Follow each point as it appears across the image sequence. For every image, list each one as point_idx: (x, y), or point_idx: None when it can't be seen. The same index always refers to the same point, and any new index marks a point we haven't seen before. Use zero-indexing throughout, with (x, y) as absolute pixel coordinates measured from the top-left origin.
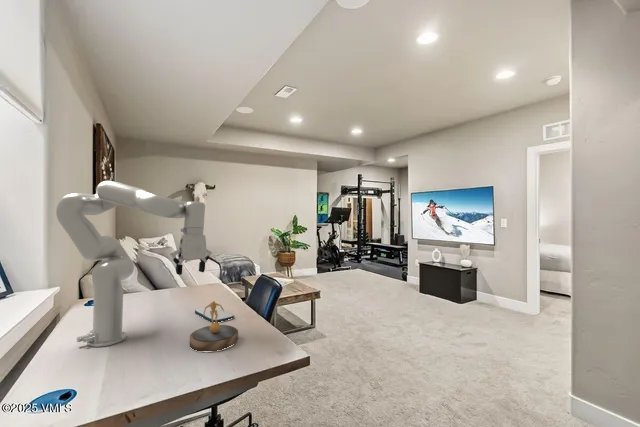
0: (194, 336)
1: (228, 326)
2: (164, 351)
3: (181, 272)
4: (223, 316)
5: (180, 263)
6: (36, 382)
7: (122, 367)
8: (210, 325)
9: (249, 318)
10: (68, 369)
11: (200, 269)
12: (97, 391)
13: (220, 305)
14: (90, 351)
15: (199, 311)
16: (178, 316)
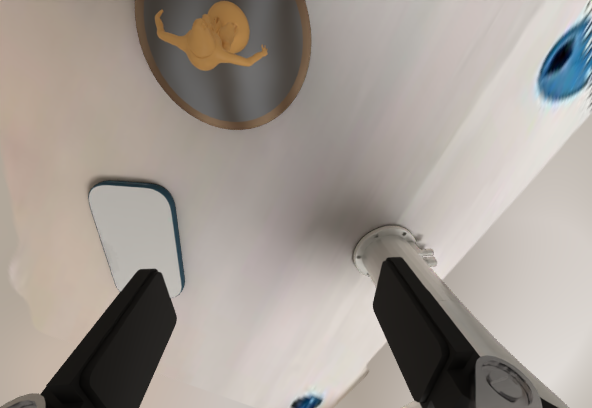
0: (297, 65)
1: (159, 50)
2: (354, 109)
3: (401, 269)
4: (126, 202)
5: (490, 380)
6: (530, 159)
7: (447, 99)
8: (243, 37)
9: (37, 146)
10: (484, 172)
11: (161, 318)
12: (538, 19)
13: (162, 30)
14: (424, 222)
15: (175, 277)
16: (226, 287)
